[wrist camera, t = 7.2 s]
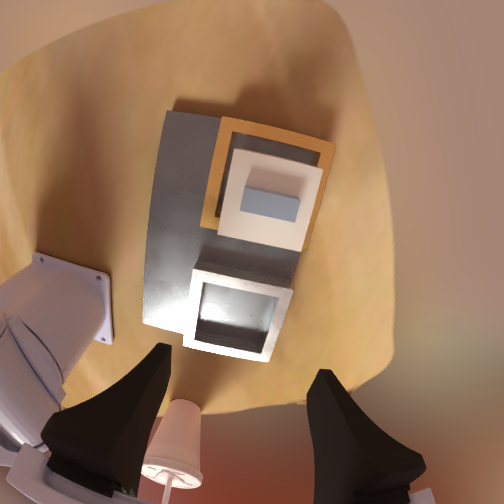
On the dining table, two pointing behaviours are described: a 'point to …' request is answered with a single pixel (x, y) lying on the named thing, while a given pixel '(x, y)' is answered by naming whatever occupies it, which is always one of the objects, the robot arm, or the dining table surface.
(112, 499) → the robot arm
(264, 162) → the plug
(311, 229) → the panel
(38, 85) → the dining table surface
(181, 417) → the smoothie
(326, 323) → the dining table surface
